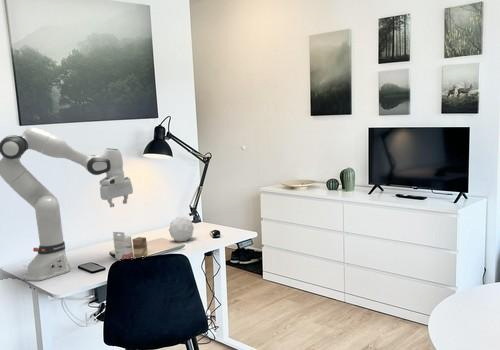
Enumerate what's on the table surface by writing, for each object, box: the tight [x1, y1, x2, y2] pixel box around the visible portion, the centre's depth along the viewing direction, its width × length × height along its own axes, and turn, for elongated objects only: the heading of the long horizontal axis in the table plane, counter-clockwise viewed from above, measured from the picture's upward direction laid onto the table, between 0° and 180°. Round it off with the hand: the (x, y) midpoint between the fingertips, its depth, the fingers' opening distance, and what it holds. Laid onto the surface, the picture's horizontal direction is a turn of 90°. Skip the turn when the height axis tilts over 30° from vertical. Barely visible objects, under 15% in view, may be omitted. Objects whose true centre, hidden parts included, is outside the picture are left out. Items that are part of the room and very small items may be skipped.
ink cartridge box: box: [112, 231, 134, 260], centre depth 252 cm, size 9×5×15 cm, turn 61°
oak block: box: [132, 246, 149, 258], centre depth 252 cm, size 5×5×5 cm
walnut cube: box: [131, 236, 148, 250], centre depth 252 cm, size 5×5×5 cm
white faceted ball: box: [168, 216, 195, 242], centre depth 283 cm, size 14×15×15 cm
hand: (118, 205), depth 249 cm, fingers open, 8 cm apart
